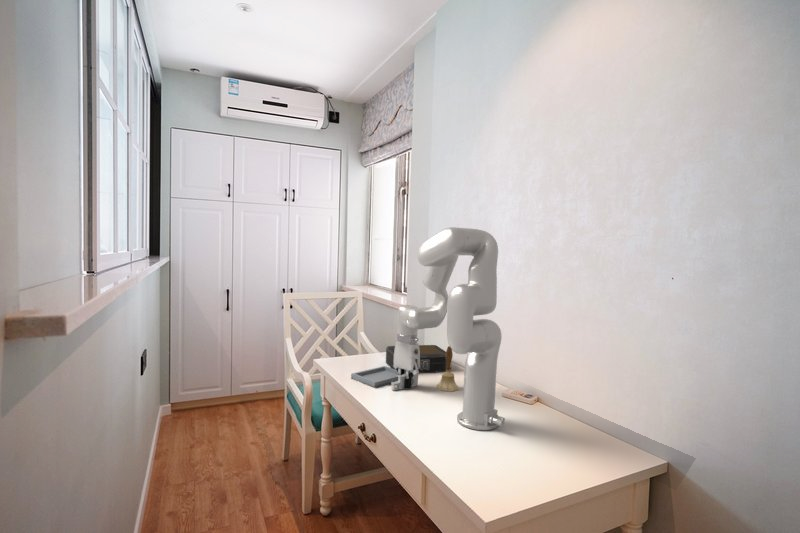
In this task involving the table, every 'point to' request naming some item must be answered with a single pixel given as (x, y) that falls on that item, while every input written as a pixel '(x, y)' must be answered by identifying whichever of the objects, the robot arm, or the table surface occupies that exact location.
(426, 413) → the table surface
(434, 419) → the table surface
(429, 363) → the cash box
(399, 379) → the white toothed rack
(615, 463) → the table surface
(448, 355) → the hand bell
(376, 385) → the tray
